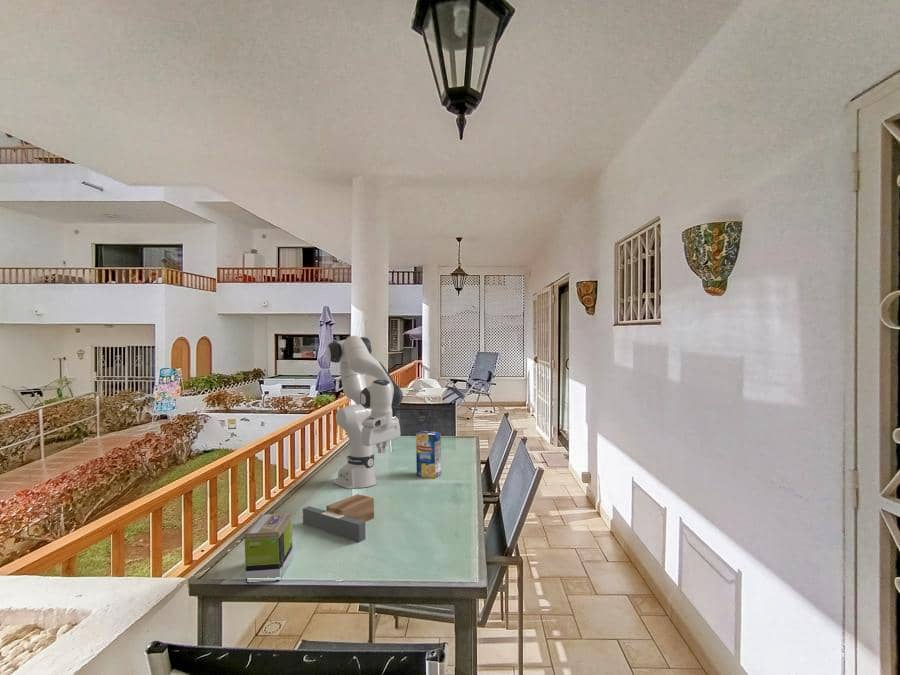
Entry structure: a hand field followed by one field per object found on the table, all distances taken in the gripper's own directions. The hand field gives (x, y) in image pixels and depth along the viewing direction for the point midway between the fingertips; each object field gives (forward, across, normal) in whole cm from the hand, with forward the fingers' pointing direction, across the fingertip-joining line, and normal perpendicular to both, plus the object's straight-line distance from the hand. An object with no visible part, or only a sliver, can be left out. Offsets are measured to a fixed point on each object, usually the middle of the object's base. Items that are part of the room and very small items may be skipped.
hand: (382, 452), depth 191 cm
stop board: (+23, +27, 0) cm, 36 cm away
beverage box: (+24, -48, -12) cm, 55 cm away
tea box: (+23, +57, +6) cm, 62 cm away
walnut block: (+23, +18, 0) cm, 29 cm away
